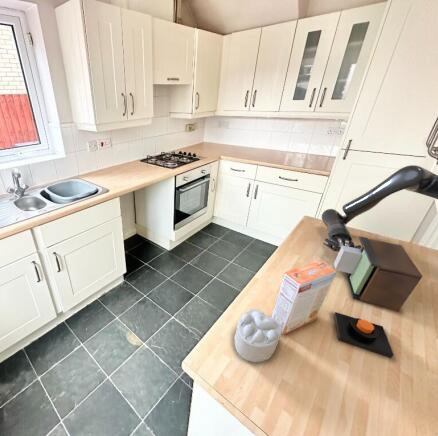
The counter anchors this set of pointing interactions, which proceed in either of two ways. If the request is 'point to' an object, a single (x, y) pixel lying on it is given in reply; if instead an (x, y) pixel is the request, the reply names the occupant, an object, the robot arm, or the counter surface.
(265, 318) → the lumpy-topped squat cylinder
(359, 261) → the door
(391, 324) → the counter surface
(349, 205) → the robot arm
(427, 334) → the counter surface
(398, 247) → the cupboard
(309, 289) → the cracker box
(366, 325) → the button
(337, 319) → the button box
